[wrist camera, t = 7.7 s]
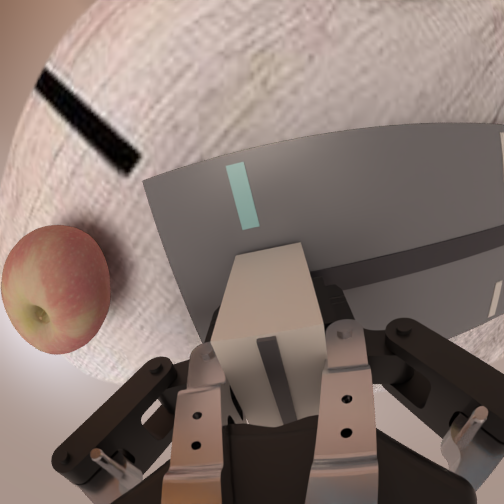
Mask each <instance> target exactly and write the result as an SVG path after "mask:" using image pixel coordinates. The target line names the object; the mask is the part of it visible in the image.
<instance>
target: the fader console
mask: <svg viewBox="0 0 504 504" xmlns="http://www.w3.org/2000/svg"><path fill="white" fill-rule="evenodd" d="M142 182H143V185H144V189H145V192H146V195H147V198H148V202H149V205H150V208H151V211H152V214H153V217H154V220H155V223H156V226H157V229H158V232H159V235H160V238H161V241H162V244H163V247H164V249H165V252H166V255H167V258H168V260H169V263H170V266H171V268H172V271H173V274H174V276H175V279H176V281H177V284H178V287H179V289H180V292H181V294H182V297H183V299H184V302H185V304H186V306H187V309H188V311H189V314H190V316H191V318H192V321H193V323H194V325H195V328H196V330H197V332H198V334H199V337H200V339H201V341H202V343H204V341H205V338H206V335H207V332H208V329H209V326H210V322H211V320H212V316H213V313H214V311H215V310H216V309H217V308H218V307H219V306H220V305H221V303H222V300H223V296H224V293H225V290H226V286H227V283H228V280H229V276H230V273H231V270H232V266H233V263H234V260H235V256H236V255H241V254H246V253H250V252H255V251H260V250H265V249H270V248H275V247H280V246H285V245H289V244H294V243H299V242H301V245H302V248H303V252H304V255H305V259H306V262H307V265H308V269H309V272H310V276H311V278H315V277H320V276H322V278H323V281H324V284H325V286H328V285H333V284H335V285H337V286H338V287H340V288H341V289H342V291H343V293H344V295H345V297H346V300H347V302H348V304H349V307H350V309H351V311H352V314H353V316H354V318H355V321H357V322H359V323H360V324H361V325H362V326H363V328H365V329H368V330H385V329H386V326H387V325H388V323H389V322H391V321H392V320H394V319H397V318H411V319H414V320H416V321H418V322H419V323H421V324H423V325H424V326H426V327H428V328H429V329H431V330H433V331H435V332H436V333H438V334H440V335H441V336H443V337H444V338H446V339H449V338H452V337H454V336H457V335H459V334H461V333H464V332H466V331H468V330H471V329H473V328H475V327H477V326H479V325H481V324H484V323H486V322H488V321H490V320H492V319H494V318H496V317H498V316H500V315H502V314H504V125H502V124H486V123H420V124H403V125H390V126H379V127H369V128H360V129H352V130H345V131H338V132H331V133H325V134H319V135H313V136H307V137H301V138H296V139H291V140H286V141H281V142H276V143H272V144H267V145H263V146H258V147H254V148H250V149H246V150H242V151H238V152H234V153H230V154H226V155H222V156H219V157H215V158H211V159H208V160H204V161H201V162H198V163H194V164H191V165H188V166H184V167H181V168H178V169H175V170H172V171H169V172H166V173H163V174H160V175H157V176H154V177H151V178H149V179H146V180H143V181H142Z"/></svg>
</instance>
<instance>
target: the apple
mask: <svg viewBox="0 0 504 504" xmlns="http://www.w3.org/2000/svg"><path fill="white" fill-rule="evenodd" d="M1 294H2V300H3V303H4V307H5V309H6V312H7V314H8V316H9V318H10V320H11V322H12V324H13V326H14V327H15V329H16V330H17V331H18V333H19V334H20V335H21V336H22V337H23V338H24V339H25V340H26V341H27V342H28V343H29V344H31V345H32V346H34V347H35V348H37V349H38V350H40V351H43V352H46V353H49V354H65V353H70V352H72V351H75V350H77V349H79V348H81V347H82V346H84V345H86V344H87V343H88V342H89V341H90V340H91V339H92V338H93V337H94V336H95V335H96V334H97V332H98V331H99V329H100V327H101V325H102V324H103V322H104V320H105V318H106V315H107V312H108V309H109V305H110V277H109V270H108V266H107V262H106V259H105V257H104V255H103V252H102V250H101V249H100V247H99V245H98V244H97V243H96V241H95V240H94V239H93V238H92V237H91V236H90V235H88V234H87V233H85V232H84V231H82V230H80V229H77V228H74V227H70V226H64V225H52V226H45V227H42V228H38V229H36V230H34V231H32V232H30V233H29V234H27V235H25V236H24V237H23V238H22V239H21V240H19V242H18V243H17V244H16V245H15V246H14V248H13V249H12V250H11V252H10V253H9V255H8V257H7V259H6V262H5V265H4V269H3V273H2V282H1Z"/></svg>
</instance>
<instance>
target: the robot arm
mask: <svg viewBox="0 0 504 504" xmlns="http://www.w3.org/2000/svg"><path fill="white" fill-rule="evenodd" d="M311 279H312V283H313V286H314V290H315V294H316V297H317V301H318V305H319V308H320V312H321V316H322V320H323V323H324V331H325V340H326V349H327V358H328V359H325V365H324V370H323V371H322V381H321V395H320V407H319V415H314V416H307V417H305V418H302V419H299V420H296V421H293V422H290V423H287V424H284V425H281V426H278V427H266V426H258V425H251V424H247V422H246V416H245V414H244V412H243V410H242V409H241V407H240V405H239V403H238V401H237V399H236V397H235V395H234V393H233V390H232V388H231V386H230V383H229V381H228V379H227V377H226V375H225V374H224V371H223V369H222V367H221V365H220V363H219V360H218V358H217V356H216V354H215V352H214V349H213V347H212V345H211V342H210V341H211V337H212V334H213V330H214V327H215V324H216V320H217V317H218V313H219V310H220V307H221V305H220V306H219V307H218V308H217V309H216V310H215V311H214V313H213V316H212V320H211V322H210V326H209V329H208V332H207V335H206V338H205V341H204V343H203V344H201V345H199V346H197V347H196V348H195V349H194V350H193V351H192V353H191V355H190V359H189V360H186V361H183V362H180V363H177V364H172V362H171V360H170V359H169V358H167V357H156V358H153V359H151V360H149V361H148V362H147V363H146V364H144V365H143V366H142V367H141V368H140V369H139V370H138V371H137V372H136V373H135V374H134V375H133V376H132V377H131V378H130V379H129V380H128V381H127V382H126V383H125V384H124V385H123V386H122V387H121V388H120V389H119V390H118V391H116V392H115V394H113V395H112V396H111V397H110V398H109V399H108V400H107V401H106V402H105V403H104V404H103V405H102V406H101V407H100V408H99V409H98V410H97V411H96V412H94V413H93V414H92V415H91V416H90V417H89V418H88V419H87V420H86V421H85V422H84V423H83V424H82V425H81V426H80V427H79V428H78V429H77V430H76V431H75V432H73V433H72V434H71V435H70V436H69V437H68V438H67V439H66V440H65V441H64V442H63V443H62V444H61V445H60V446H59V447H58V448H57V449H56V450H55V451H54V453H53V455H52V461H51V462H52V466H53V468H54V469H55V470H56V471H57V472H58V473H60V474H61V475H63V476H64V477H65V478H67V479H68V480H69V481H70V482H71V483H73V484H74V485H75V486H77V487H79V488H80V489H81V490H82V491H83V492H84V493H85V495H86V496H87V497H88V498H89V499H90V500H91V501H92V502H93V503H94V504H477V497H476V493H475V492H476V491H477V490H478V489H479V487H480V486H481V485H482V484H483V483H484V482H485V480H486V479H487V478H488V477H489V475H490V474H491V473H492V472H493V470H494V469H495V468H496V466H497V465H498V464H499V462H500V461H501V460H502V458H503V457H504V374H503V373H501V372H499V371H498V370H496V369H495V368H493V367H492V366H490V365H488V364H487V363H485V362H484V361H482V360H480V359H479V358H477V357H476V356H474V355H472V354H471V353H469V352H467V351H466V350H464V349H463V348H461V347H459V346H458V345H456V344H454V343H453V342H451V341H449V340H448V339H446V338H444V337H443V336H441V335H440V334H438V333H436V332H435V331H433V330H431V329H429V328H428V327H426V326H424V325H423V324H421V323H419V322H418V321H416V320H414V319H411V318H397V319H394V320H392V321H391V322H389V323H388V325H387V326H386V329H385V330H368V329H365V328H363V326H362V325H361V324H360V323H359V322H357V321H355V318H354V316H353V314H352V311H351V309H350V307H349V304H348V302H347V300H346V297H345V295H344V293H343V291H342V289H341V288H340V287H338V286H337V285H335V284H333V285H328V286H325V284H324V281H323V278H322V276H320V277H315V278H311ZM373 384H382V386H383V387H384V388H385V389H386V390H387V391H388V392H389V393H390V394H392V395H393V396H394V397H395V398H396V399H397V400H398V401H400V402H401V403H402V404H403V405H404V406H405V407H406V408H408V409H409V410H410V411H411V412H412V413H413V414H414V415H416V416H417V417H418V418H419V419H420V420H421V421H423V422H424V423H425V424H426V425H427V426H428V427H429V428H431V429H432V430H433V431H434V432H435V433H436V434H438V435H439V436H440V437H441V438H442V439H443V440H442V442H441V452H442V455H443V456H444V458H445V459H446V460H447V462H448V465H449V470H447V469H446V468H444V467H442V466H440V465H438V464H436V463H434V462H433V461H431V460H429V459H427V458H425V457H423V456H422V455H420V454H418V453H417V452H415V451H413V450H411V449H409V448H408V447H406V446H405V445H403V444H401V443H399V442H398V441H396V440H395V439H393V438H391V437H390V436H388V435H386V434H385V433H383V432H382V431H380V430H379V429H377V428H376V422H375V408H374V395H373ZM157 399H158V400H159V401H160V402H161V404H162V405H161V406H160V407H159V408H158V409H157V410H156V411H155V412H154V414H153V415H152V416H151V417H150V418H149V419H148V420H147V421H146V422H145V423H144V424H143V425H142V424H141V417H142V415H143V414H144V413H145V411H146V410H147V409H148V408H149V407H150V406H151V405H152V404H153V403H154V402H155V401H156V400H157ZM171 442H172V448H171V459H169V460H168V461H167V462H166V463H165V464H163V465H162V466H161V467H159V468H158V469H157V470H156V471H154V472H153V473H152V474H150V475H149V476H148V477H147V478H145V479H144V480H143V481H142V479H143V474H144V473H145V472H146V471H147V470H148V469H149V468H150V466H151V465H152V464H153V463H154V462H155V461H156V460H157V458H158V457H159V456H160V455H161V454H162V453H163V452H164V450H165V449H166V448H167V447H168V446H169V444H170V443H171Z"/></svg>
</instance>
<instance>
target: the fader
mask: <svg viewBox="0 0 504 504" xmlns="http://www.w3.org/2000/svg"><path fill="white" fill-rule="evenodd" d="M210 342H211V345H212V347H213V349H214V352H215V354H216V356H217V358H218V360H219V363H220V365H221V367H222V369H223V371H224V374H225V375H226V377H227V379H228V381H229V383H230V386H231V388H232V390H233V393H234V395H235V397H236V399H237V401H238V403H239V405H240V407H241V409H242V410H243V412H244V414H245V416H246V419H247V420H248V422H249V424H251V425H258V426H266V427H278V426H281V425H284V424H287V423H290V422H293V421H296V420H299V419H302V418H305V417H307V416H314V415H319V407H320V395H321V381H322V371H323V370H324V365H325V359H328V358H327V349H326V340H325V331H324V323H323V320H322V316H321V312H320V308H319V305H318V301H317V297H316V294H315V290H314V286H313V283H312V279H311V276H310V272H309V269H308V265H307V262H306V259H305V255H304V252H303V248H302V245H301V242H299V243H294V244H289V245H285V246H280V247H275V248H270V249H265V250H260V251H255V252H250V253H246V254H241V255H236V256H235V260H234V263H233V266H232V270H231V273H230V276H229V280H228V283H227V286H226V290H225V293H224V296H223V300H222V303H221V307H220V310H219V313H218V317H217V320H216V324H215V327H214V330H213V334H212V337H211V341H210Z"/></svg>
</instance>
